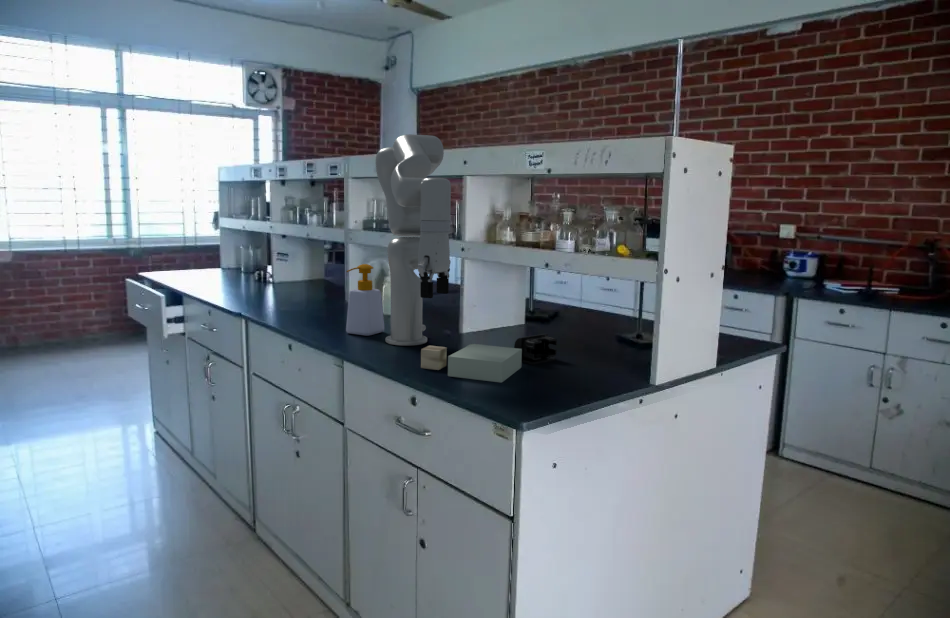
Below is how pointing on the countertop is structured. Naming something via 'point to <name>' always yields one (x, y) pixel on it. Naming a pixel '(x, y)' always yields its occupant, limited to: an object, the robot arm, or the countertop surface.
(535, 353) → the end cap
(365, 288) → the soap bottle
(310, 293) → the countertop surface
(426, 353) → the maple cube
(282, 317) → the countertop surface
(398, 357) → the countertop surface
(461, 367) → the sage stand
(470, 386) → the countertop surface
